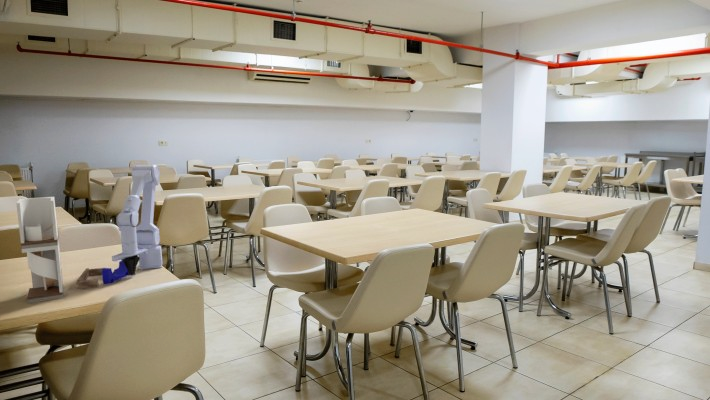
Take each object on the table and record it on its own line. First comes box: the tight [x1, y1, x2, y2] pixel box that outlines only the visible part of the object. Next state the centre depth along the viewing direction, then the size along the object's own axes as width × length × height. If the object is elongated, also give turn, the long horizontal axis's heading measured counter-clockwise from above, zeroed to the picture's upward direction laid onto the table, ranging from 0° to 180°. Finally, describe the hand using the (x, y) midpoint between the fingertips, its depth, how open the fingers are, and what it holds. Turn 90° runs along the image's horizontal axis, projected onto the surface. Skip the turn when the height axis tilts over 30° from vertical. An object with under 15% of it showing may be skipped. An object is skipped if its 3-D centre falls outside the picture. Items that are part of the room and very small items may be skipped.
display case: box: [16, 196, 64, 304], centre depth 178 cm, size 11×11×35 cm
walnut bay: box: [76, 267, 104, 289], centre depth 197 cm, size 7×18×3 cm, turn 18°
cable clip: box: [102, 260, 130, 285], centre depth 199 cm, size 12×4×6 cm, turn 170°
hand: (131, 274), depth 201 cm, fingers closed
